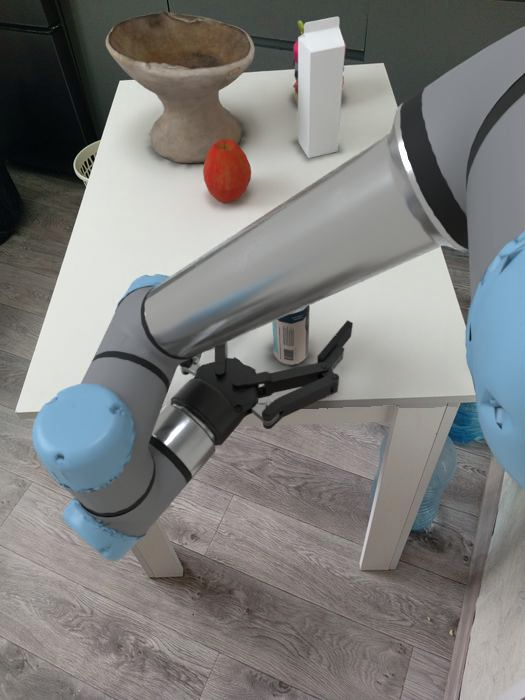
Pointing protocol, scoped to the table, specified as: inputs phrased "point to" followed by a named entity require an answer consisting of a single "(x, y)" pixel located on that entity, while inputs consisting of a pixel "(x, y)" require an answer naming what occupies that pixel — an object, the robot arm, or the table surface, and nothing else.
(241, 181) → the apple
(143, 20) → the bowl
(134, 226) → the table surface
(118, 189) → the table surface
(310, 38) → the milk
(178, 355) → the robot arm
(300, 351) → the beer can
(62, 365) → the table surface
